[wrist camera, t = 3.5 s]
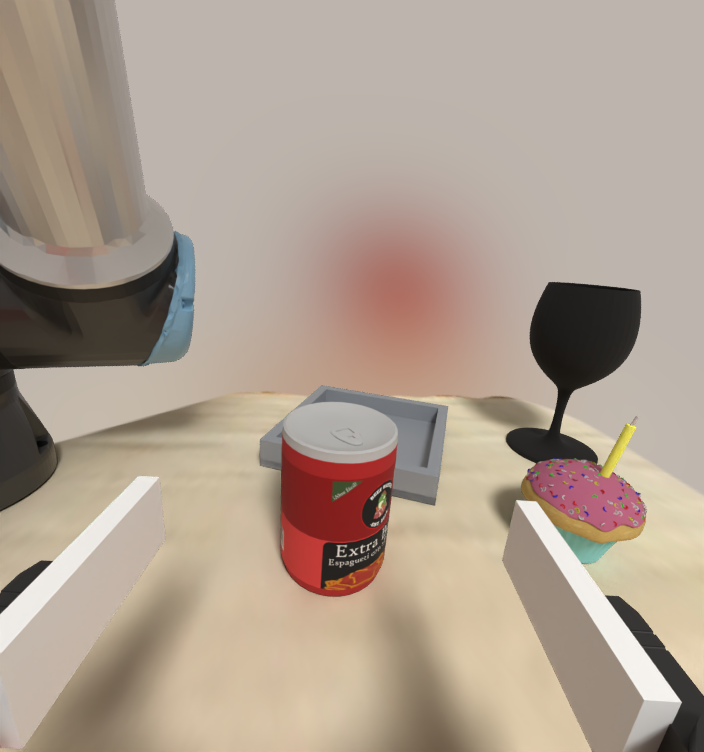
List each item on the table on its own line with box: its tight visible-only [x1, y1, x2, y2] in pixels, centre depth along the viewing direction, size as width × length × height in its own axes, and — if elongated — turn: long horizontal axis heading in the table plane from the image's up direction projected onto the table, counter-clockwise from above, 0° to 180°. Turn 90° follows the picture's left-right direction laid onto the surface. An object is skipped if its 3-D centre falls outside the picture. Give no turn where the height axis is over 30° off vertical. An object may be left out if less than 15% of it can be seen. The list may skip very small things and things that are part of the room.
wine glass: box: [507, 282, 641, 465], centre depth 45 cm, size 10×10×20 cm
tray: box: [260, 385, 448, 505], centre depth 45 cm, size 18×18×3 cm
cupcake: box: [521, 416, 647, 564], centre depth 30 cm, size 9×8×12 cm
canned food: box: [281, 402, 398, 596], centre depth 27 cm, size 8×8×11 cm
